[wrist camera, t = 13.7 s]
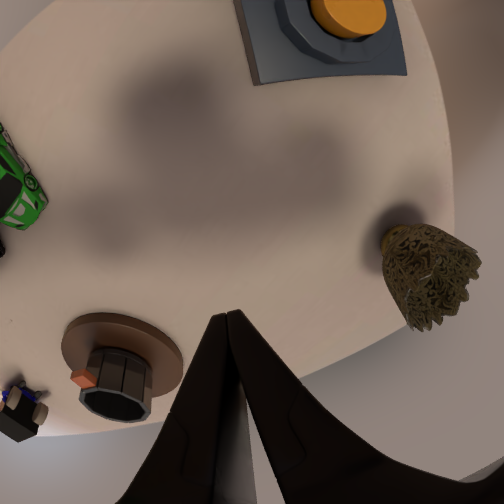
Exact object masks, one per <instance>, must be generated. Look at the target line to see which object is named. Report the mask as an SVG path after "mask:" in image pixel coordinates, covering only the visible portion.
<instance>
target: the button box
mask: <svg viewBox="0 0 504 504" xmlns="http://www.w3.org/2000/svg"><path fill="white" fill-rule="evenodd" d="M233 1H234V4H235V8H236V12H237V16H238V20H239V24H240V28H241V32H242V37H243V41H244V45H245V49H246V53H247V58H248V62H249V66H250V71H251V75H252V80H253V84H254V86H257V85H263V84H269V83H276V82H283V81H290V80H298V79H307V78H318V77H331V76H349V75H401V76H407V70H406V63H405V57H404V51H403V45H402V40H401V35H400V30H399V26H398V21H397V17H396V13H395V9H394V5H393V2H392V0H383V2H384V4H385V7H386V21H385V23H384V25H383V27H382V28H381V29H380V30H379V31H377V32H375V33H372V34H368V35H364V36H360V37H356V38H342V37H338V36H336V35H333V34H331V33H330V32H328V31H327V30H325V29H324V28H323V27H322V26H321V25H320V24H319V23H318V22H317V21H316V19H315V18H314V16H313V14H312V11H311V6H310V0H233Z"/></svg>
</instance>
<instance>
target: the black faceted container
mask: <svg viewBox="0 0 504 504" xmlns="http://www.w3.org/2000/svg"><path fill="white" fill-rule="evenodd" d="M70 379H71V380H72V381H73V382H75V383H76V384H77V385H78V386H80V387H81V391H80V396H79V401H80V402H81V403H82V404H83V405H84V406H85V407H86V408H87V409H88V410H89V411H90V412H92V413H94V414H96V415H98V416H101V417H103V418H105V419H109V420H112V421H118V422H124V423H134V422H140V421H144V420H146V419H147V418H148V416H149V415H150V414H151V401H152V384H153V379H152V371H151V369H150V367H149V366H148V365H147V364H146V362H144V361H143V360H142V359H140V358H139V357H137V356H135V355H133V354H131V353H129V352H126V351H122V350H118V349H109V348H108V349H99V350H96V351H94V352H92V353H91V354H90V356H89V357H88V361H87V366H86V369H85V368H84V369H80V370H77V371H73V372H72V374H71V378H70Z"/></svg>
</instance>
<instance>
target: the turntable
mask: <svg viewBox="0 0 504 504" xmlns="http://www.w3.org/2000/svg"><path fill="white" fill-rule="evenodd" d="M108 348H109V349H118V350H122V351H126V352H129V353H131V354H133V355H135V356H137V357H139V358H140V359H142V360H143V361H144V362H146V364H147V365H148V366H149V367H150V369H151V371H152V379H153V384H152V398H153V397H158V396H161V395H164V394H167V393H168V392H170V391H172V390H173V389H175V388H176V387H177V386H178V384H179V383H180V382H181V379H182V376H183V359H182V356H181V353H180V351H179V349H178V348H177V346H176V345H175V344H174V342H173V341H172V340H171V339H170V338H169V337H167V336H166V335H165V334H164V333H162V332H161V331H159V330H158V329H156V328H155V327H153V326H151V325H149V324H147V323H145V322H142V321H140V320H137V319H134V318H132V317H128V316H124V315H119V314H113V313H94V314H88V315H84V316H81V317H79V318H77V319H76V320H74V321H73V322H71V324H70V325H69V326H68V327H67V329H66V331H65V334H64V336H63V339H62V343H61V350H62V354H63V357H64V359H65V361H66V363H67V365H68V366H69V368H70V369H71V370H72V371H77V370H80V369H84V368H85V369H86V366H87V361H88V357H89V356H90V354H91V353H92V352H94V351H96V350H99V349H108Z"/></svg>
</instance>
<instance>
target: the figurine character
mask: <svg viewBox="0 0 504 504" xmlns="http://www.w3.org/2000/svg"><path fill="white" fill-rule="evenodd" d="M25 384H26V383H25V382H24V381H22V382H21V383H20V384H19V385H18V387H16V386H11V388H10V390H9V391H2V395H3V398H2V401H1V403H0V431H1V432H2V433H4V434H5V435H7V436H8V437H10V438H11V439H13V440H15V441H16V442H21V441H23V440H26V439H28V438H30V437H33V436H35V435H37V432H38V427H39V425H42V424H43V423H44V421H45V420H46V417H47V414H48V406H46V405H45V404H43V403H41V402H39V403H38V404H37V403H35V402H34V401H35V400H37V399H38V398H39V397H40V396H41V393H40V392H39V391H37V392H36V393H35V394H34V395H33V397H32V396H31V394H30V393H28V392H27V391H25V390H22V388H23V387H24V385H25ZM6 395H8V396H7V397H6Z"/></svg>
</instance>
